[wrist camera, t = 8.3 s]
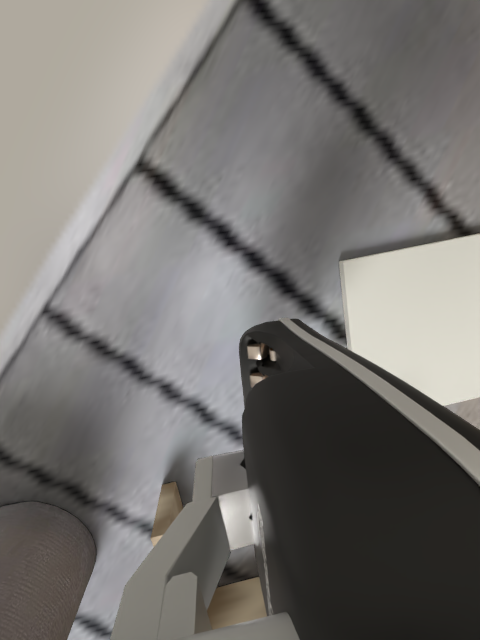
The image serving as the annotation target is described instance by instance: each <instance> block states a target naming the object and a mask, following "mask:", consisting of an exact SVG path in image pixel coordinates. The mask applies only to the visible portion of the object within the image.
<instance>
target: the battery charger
mask: <svg viewBox="0 0 480 640" xmlns="http://www.w3.org/2000/svg"><path fill="white" fill-rule="evenodd" d="M239 356H240V368H241V377H242V386H243V395H244V406H245V410H244V412H243V415H242V435H243V447H244V456H245V465H246V474H247V482H248V487H249V494H250V503H251V515H252V522H253V530H254V539H255V544H254V547H255V557H256V562H257V568H258V573H259V578H260V584H261V589H262V594H263V599H264V604H265V608H266V613H267V616H271V615H275V614H279V613H283V612H287V613H288V614H289V616H290V618H291V620H292V623H293V625H294V628H295V630H296V632H297V635H298V637H299V639H300V640H480V430H479V429H477V428H476V427H474V426H473V425H471V424H470V423H468V422H467V421H465V420H464V419H462V418H461V417H459V416H458V415H456V414H455V413H453V412H452V411H450V410H448V409H447V408H445V407H444V406H442V405H441V404H439V403H438V402H436V401H435V400H433V399H431V398H430V397H428V396H427V395H425V394H424V393H422V392H420V391H419V390H417V389H416V388H414V387H413V386H411V385H409V384H408V383H406V382H405V381H403V380H401V379H400V378H398V377H396V376H395V375H393V374H391V373H390V372H388V371H386V370H385V369H383V368H381V367H379V366H378V365H376V364H374V363H372V362H371V361H369V360H367V359H365V358H363V357H362V356H360V355H358V354H356V353H354V352H352V351H351V350H349V349H347V348H345V347H343V346H341V345H339V344H337V343H335V342H333V341H331V340H329V339H327V338H326V337H324V336H322V335H321V334H319V333H318V332H316V331H315V330H313V329H312V328H310V327H309V326H307V325H306V324H304V323H303V322H302V321H301V320H299V319H289V318H280V319H278V321H271V322H265V323H262V324H259V325H256V326H254V327H252V328H250V329H248V330H247V331H246V332H245V333H244V334H243V335H242V337H241V339H240V343H239Z"/></svg>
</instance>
